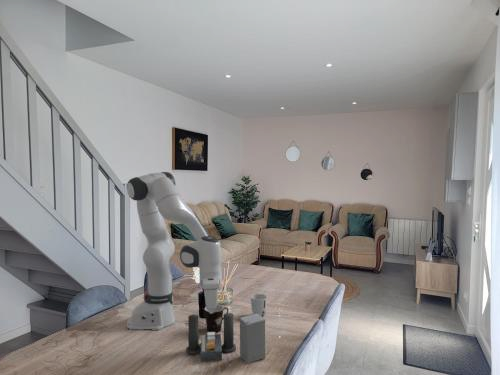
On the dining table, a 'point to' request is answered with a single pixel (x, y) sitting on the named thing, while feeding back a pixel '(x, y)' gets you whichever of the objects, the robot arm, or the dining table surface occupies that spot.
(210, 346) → the paddle
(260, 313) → the cup
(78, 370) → the dining table surface
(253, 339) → the skincare box
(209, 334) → the paddle
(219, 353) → the dark grey boxy piece
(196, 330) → the post
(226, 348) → the post
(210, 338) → the paddle mid
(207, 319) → the coffee mug
